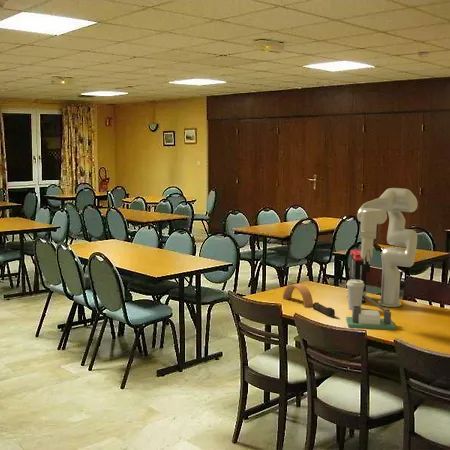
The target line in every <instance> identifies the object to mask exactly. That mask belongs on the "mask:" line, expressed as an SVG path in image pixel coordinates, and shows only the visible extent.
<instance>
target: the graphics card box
mask: <svg viewBox="0 0 450 450" xmlns="http://www.w3.org/2000/svg"><path fill="white" fill-rule="evenodd" d="M349 259H350V260H349V280H361V281H363V283H364V284H365V286H364V288H363V293H364V292H366V294H367V291H366V290H367V272H363V264H364V263H363V261H364V258H362V257H361V249H350V258H349ZM366 294H365V295H366ZM366 296H367V295H366ZM363 303H364V304H365V303H366V298H365V297H364V296H362V303H361V304H363Z"/></svg>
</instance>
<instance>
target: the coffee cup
mask: <svg viewBox="0 0 450 450" xmlns="http://www.w3.org/2000/svg"><path fill="white" fill-rule="evenodd" d="M364 286H365V284H364V283H363V281H361V280H350V279H348V280H347V282H346V287H347V289H346V290H347V303H348V304H347V306H348V309H349V310H351V311H352V306H360V309H361V310H362V304H363V303H362V293H363V288H364Z"/></svg>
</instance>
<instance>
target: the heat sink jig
mask: <svg viewBox="0 0 450 450" xmlns="http://www.w3.org/2000/svg"><path fill="white" fill-rule="evenodd" d="M384 309H385V310H387V311H388V312H386V313H385V312H384V311H383V312H384V313H383V318H381V314H380V312H379V310H371V309H370V310H369V309H368V310H367V309H362V308H361V309H360V306H352V310H351V316H346V317H345V318H346V319H345V321H346V323H347V328H352V329H354V328H355V329H372V330H375V329H376V330H389V331H391V330H394V331H396V328H397V327H396V325H395V323H394V321H393V319H392V312H391V310H390V309H386V308H384Z"/></svg>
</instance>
